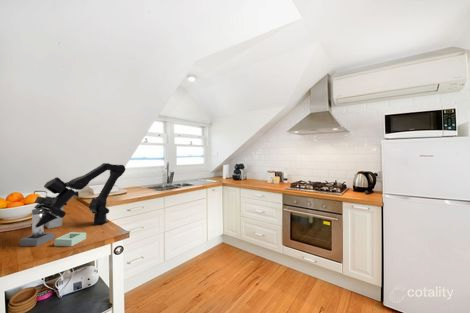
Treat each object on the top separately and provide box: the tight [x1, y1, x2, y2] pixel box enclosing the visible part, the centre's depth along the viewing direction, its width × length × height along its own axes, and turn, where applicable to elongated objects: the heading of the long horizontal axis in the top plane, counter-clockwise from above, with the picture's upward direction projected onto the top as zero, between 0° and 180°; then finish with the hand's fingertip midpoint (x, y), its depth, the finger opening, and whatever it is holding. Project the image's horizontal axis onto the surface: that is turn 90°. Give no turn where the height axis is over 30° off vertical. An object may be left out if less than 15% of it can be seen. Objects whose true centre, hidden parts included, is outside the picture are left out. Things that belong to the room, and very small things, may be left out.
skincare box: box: [44, 206, 64, 230], centre depth 117 cm, size 8×7×16 cm
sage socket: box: [53, 231, 87, 247], centre depth 96 cm, size 8×8×3 cm
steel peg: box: [31, 208, 45, 238], centre depth 95 cm, size 4×4×16 cm
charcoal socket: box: [19, 231, 55, 247], centre depth 95 cm, size 8×8×3 cm
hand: (34, 226), depth 94 cm, fingers closed on steel peg, 4 cm apart
